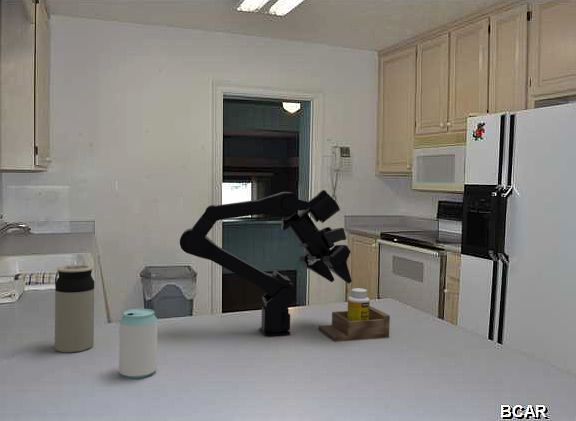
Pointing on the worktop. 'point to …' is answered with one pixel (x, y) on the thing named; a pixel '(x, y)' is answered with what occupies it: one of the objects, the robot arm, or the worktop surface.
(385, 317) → the open wooden box
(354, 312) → the supplement bottle
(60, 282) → the travel mug
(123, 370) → the can
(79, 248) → the worktop surface
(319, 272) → the robot arm
